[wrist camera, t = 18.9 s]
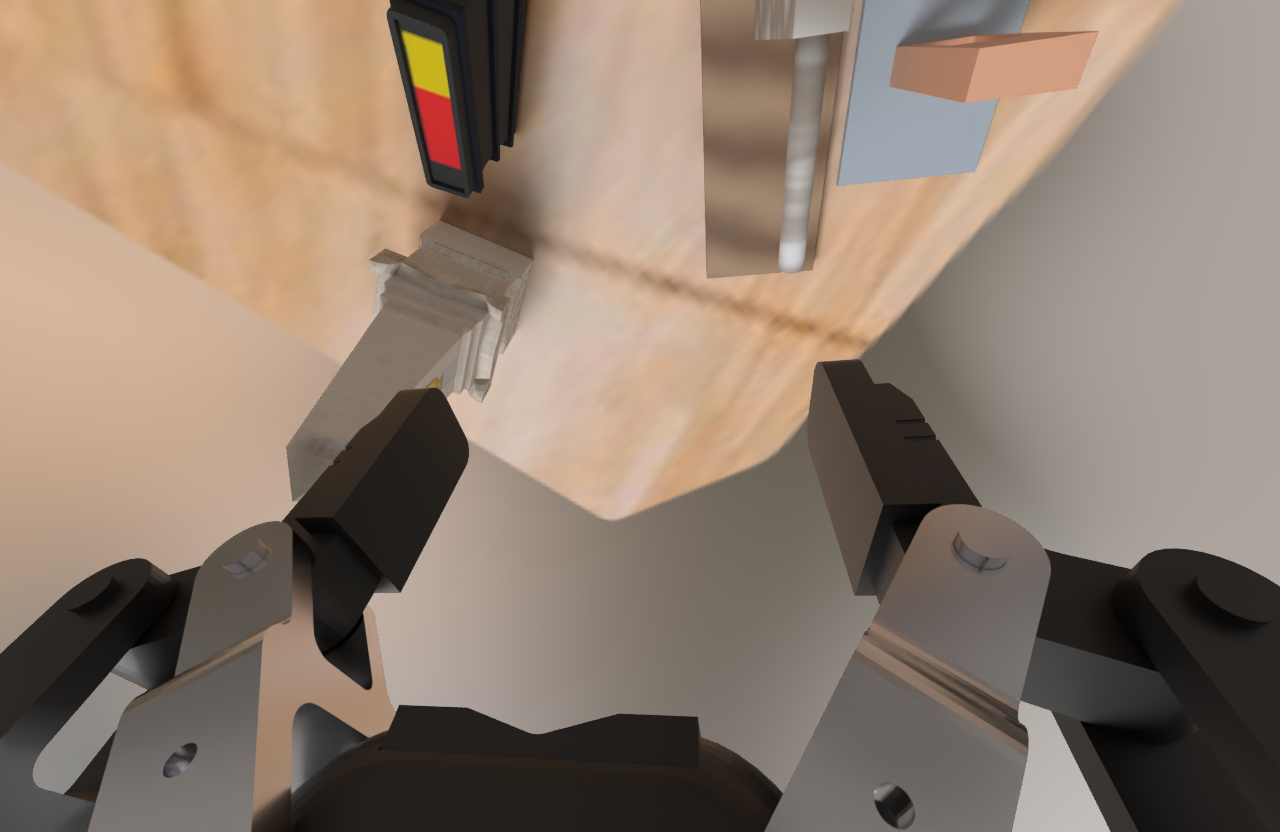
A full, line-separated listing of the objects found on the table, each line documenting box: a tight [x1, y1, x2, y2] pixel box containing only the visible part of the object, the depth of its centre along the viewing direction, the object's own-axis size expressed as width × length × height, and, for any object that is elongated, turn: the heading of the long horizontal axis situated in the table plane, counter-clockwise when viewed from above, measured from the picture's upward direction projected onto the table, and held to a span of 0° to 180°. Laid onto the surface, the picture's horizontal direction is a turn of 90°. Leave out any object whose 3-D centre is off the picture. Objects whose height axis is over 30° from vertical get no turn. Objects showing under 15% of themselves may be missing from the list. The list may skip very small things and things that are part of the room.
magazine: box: [387, 0, 527, 198], centre depth 32 cm, size 4×13×15 cm, turn 163°
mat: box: [837, 0, 1030, 186], centre depth 34 cm, size 16×11×1 cm
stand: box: [700, 0, 853, 278], centre depth 32 cm, size 22×10×17 cm, turn 7°
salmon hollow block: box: [889, 31, 1099, 103], centre depth 29 cm, size 2×6×12 cm, turn 97°
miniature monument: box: [286, 221, 533, 501], centre depth 37 cm, size 10×10×30 cm
